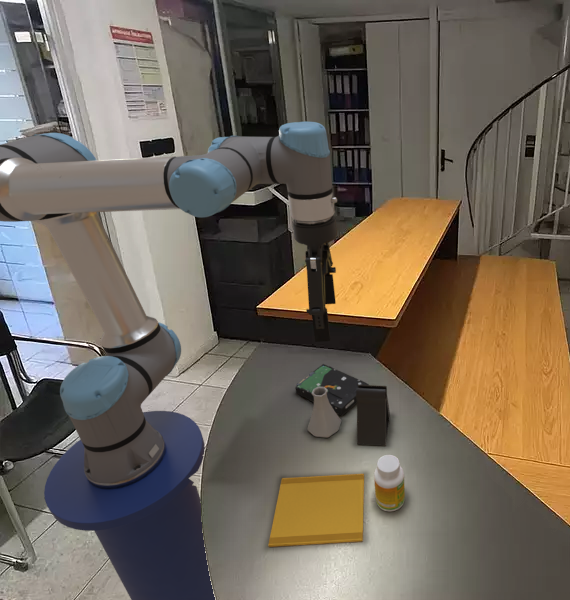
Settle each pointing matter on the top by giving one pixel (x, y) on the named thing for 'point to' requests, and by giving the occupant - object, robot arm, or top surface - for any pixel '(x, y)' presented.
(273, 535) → the yellow tray
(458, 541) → the top surface
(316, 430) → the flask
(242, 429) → the top surface
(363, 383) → the disk drive
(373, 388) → the phone stand
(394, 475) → the supplement bottle
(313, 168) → the robot arm
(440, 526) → the top surface
